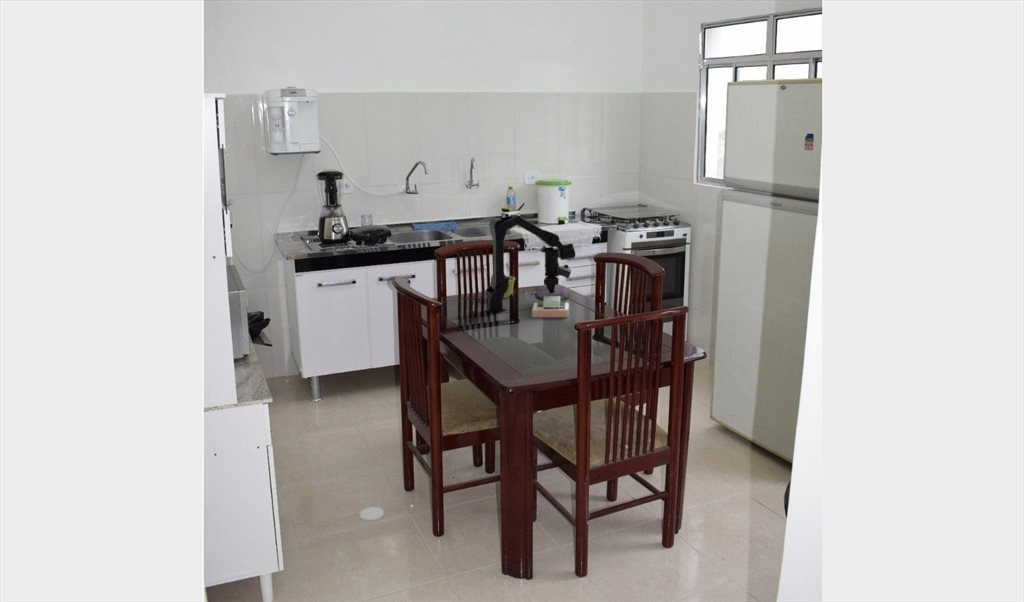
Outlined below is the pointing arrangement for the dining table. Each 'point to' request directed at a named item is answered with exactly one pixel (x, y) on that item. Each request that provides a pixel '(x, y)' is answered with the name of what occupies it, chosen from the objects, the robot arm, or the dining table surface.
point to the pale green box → (551, 300)
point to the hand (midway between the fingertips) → (552, 295)
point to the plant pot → (510, 288)
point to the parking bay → (549, 311)
